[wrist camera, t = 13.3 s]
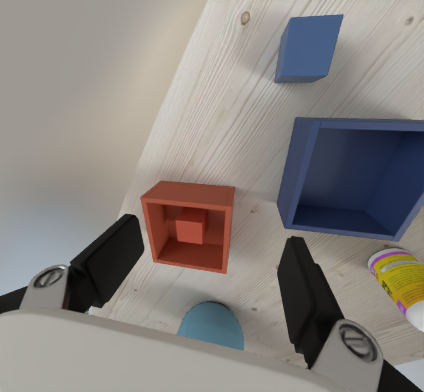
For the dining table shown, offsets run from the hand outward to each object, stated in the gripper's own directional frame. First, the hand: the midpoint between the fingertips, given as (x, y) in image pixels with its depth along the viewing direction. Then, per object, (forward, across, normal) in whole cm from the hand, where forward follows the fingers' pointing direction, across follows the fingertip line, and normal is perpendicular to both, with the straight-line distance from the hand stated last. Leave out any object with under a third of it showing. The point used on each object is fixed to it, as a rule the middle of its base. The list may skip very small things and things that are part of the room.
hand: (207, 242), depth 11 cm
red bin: (+19, +6, +11) cm, 23 cm away
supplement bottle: (+19, -29, +16) cm, 38 cm away
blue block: (+19, -7, -13) cm, 24 cm away
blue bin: (+19, -15, 0) cm, 24 cm away
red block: (+18, +6, +11) cm, 22 cm away
